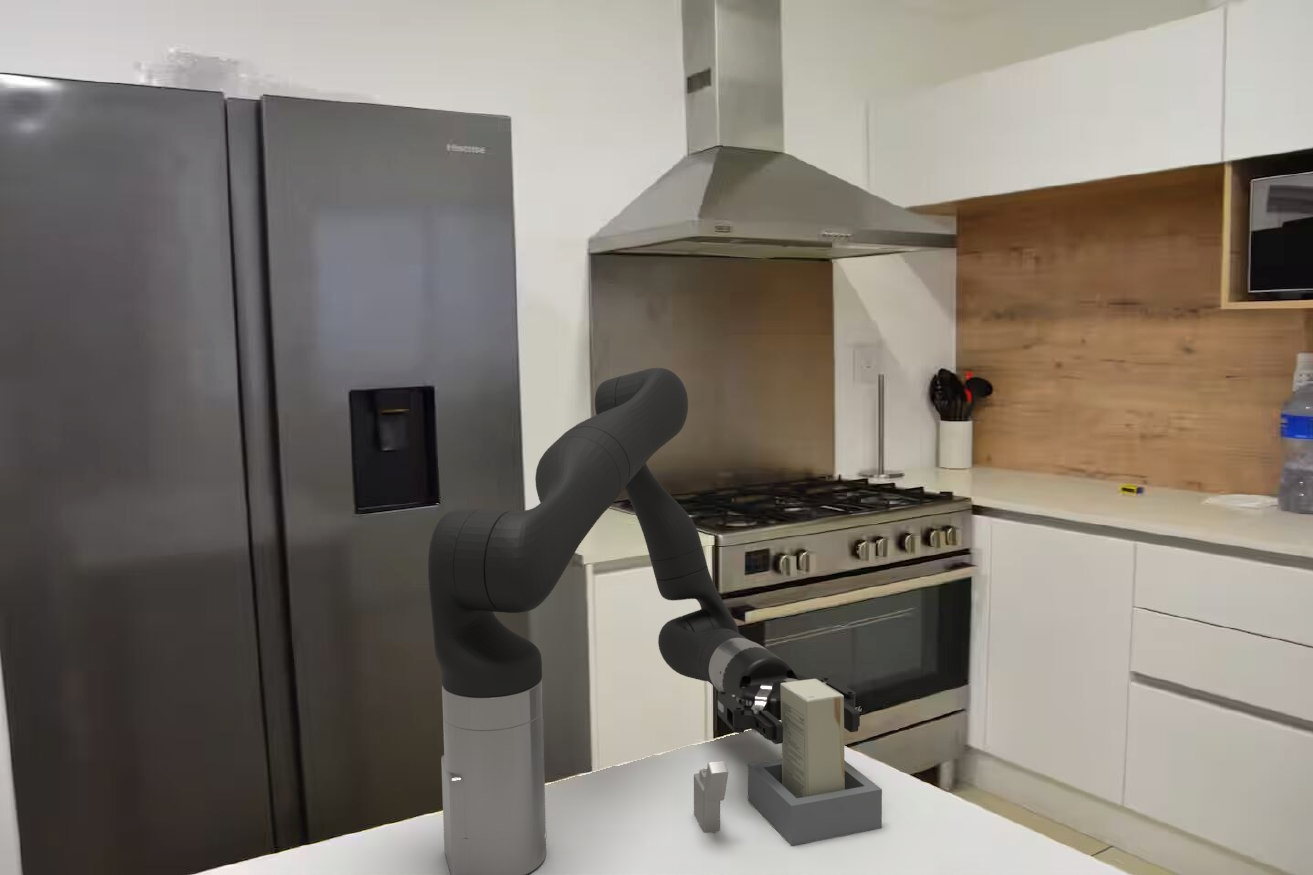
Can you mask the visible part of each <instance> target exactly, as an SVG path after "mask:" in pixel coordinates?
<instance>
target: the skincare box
mask: <svg viewBox="0 0 1313 875" xmlns="http://www.w3.org/2000/svg"><path fill="white" fill-rule="evenodd" d="M780 688H781V719H780V721H781V722H782V725H783V743H781V744H780V745H781V759H782V785H783V786H784V787H785V788H786V789H787V790H788V791H789V792H790V793H791V794H793V795H794V796H795V797H796V798H803V797H808V796H814V795H819V794H825V793H830V792H835V791H841V790H845V761H846V760H845V728H844V696H843V695H842V694H841V693H839V692H838V691H836V690H834V689H833V688H831V687H829V686H828V685H826V684H824V683H822V682H821V681H820V680H819V679H817V678H811V679H810V678H809V679H801V680H800V681H793V682H786V683H781V685H780Z"/></svg>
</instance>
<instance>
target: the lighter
mask: <svg viewBox="0 0 1313 875" xmlns="http://www.w3.org/2000/svg"><path fill="white" fill-rule="evenodd" d="M728 778H729V769H728V767H727V764H726V761H725V760H720V761H712V762H710V761H709V762H708V763H707V768H702V769H699V770H698V773H694V774H693V816H694V817H695V820H696V821H697V823H698V825H699V827H700V829H701V830H702V832H703V834H706V833H707V834H708V833H717V832H720V831H721V802H722V801H725V797H726V796H725V795H726V790H727V784H728Z"/></svg>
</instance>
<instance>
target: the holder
mask: <svg viewBox="0 0 1313 875" xmlns="http://www.w3.org/2000/svg"><path fill="white" fill-rule="evenodd" d="M747 802H748V803H749V804H750V805H751V806H752V807H753V808H754V809H755V810H756V811H757V813H759V814H760V815H761V816H762V817H763V818H764V820H766V821H767V822H768V823H769V825H771V826H772V827H773V829H775V830H776V832H777V833H779V835H781V837H782V838H783V839H784V840H785V841H786V842H787V843H788V844H789V845H790V846H791V847H792V846H797V845H802V844H807V843H808V844H809V843H812V842H813V843H814V842H818V841H823V840H827V839H833V838H837V837H842V836H848V835H854V834H857V833H858V834H859V833H863V832H867V831H871V830H872V831H873V830H877V829H882V827H883V826H882V825H883V822H882V821H883V820H882V818H883V816H882V815H883V812H882V811H883V789H882V788H881V787H880V786H878V784H876V783H874V782H873V781H872V780H871V779H869V777H867V776H865V775H864V774H863V773H861V772H860V771H859V770H858V769H857V768H855V767H854V766H853V765H851V764H850V763H848V762H847V760H845V790H841V791H835V792H830V793H825V794H819V795H814V796H808V797H803V798H796V797H795V796H794V795H793V794H791V793H790V792H789V791H788V790H787V789H786V788H785V787H784V786H783V785H782V758H779V759H778V758H777V759H774V760H767V761H760V762H754V763H749V764H747Z"/></svg>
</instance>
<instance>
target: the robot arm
mask: <svg viewBox="0 0 1313 875" xmlns="http://www.w3.org/2000/svg"><path fill="white" fill-rule="evenodd" d="M687 393H688V392H687V389H686V387H685V384H684V383H683V381H682V379H681V378H680V377H679V376H678V375H677V374H676V373H675V372H673V371H671V369H670V370H669V369H667V368H663V367H653V368H646V369H644V370H639V371H636V372H632V373H627V374H625V375H624V374H623V375H620V376H617V377H614V378H610V379H607V380H604V381H603V382H601V383H600V385H598V387H597V389H596V390H595V395H594V396H595V397H594V410H595V415H594V416H592V417H589V418H587V419H585V420H583V421H580V422H579V423H577V424H576V425H574V426H573V427H571V428H570V429H568V430H567V431H565V432H564V433H563V434H562V435H561V436H560V437H559V438H557V439H556V440H555V441H554V442H553V443H552V444H551V445H550V446H549V447H548V448H547V449H546V450H545V451H544V453H543V454H542V456H541V457H540V459H539V461H538V463H537V466H536V470H535V477H534V478H535V490H536V494H537V497H538V500H539V503H538V505H535V506H534V507H532V508H530V509H526V510H498V509H480V508H478V509H477V508H476V509H475V508H473V509H472V508H459V509H453V510H450V511H448V512H446V513H445V514H444V515H443V516H442V517H441V518H440V519H439V521H438V522H437V524H436V526H435V527H434V529H433V532H432V536H431V538H430V543H429V549H428V557H427V558H428V559H427V574H428V575H427V578H428V590H429V603H430V612H431V613H430V614H431V620H432V621H431V624H432V633H433V634H432V636H433V648H434V649H433V650H434V654H435V657H436V661H437V664H438V666H439V669H440V673H441V674H440V676H441V696H442V697H441V698H442V699H441V700H442V721H443V722H442V726H443V727H442V728H443V731H442V732H443V753H444V754H443V755H441V760H440V761H441V786H442V787H441V788H442V789H441V791H442V819H443V845H444V846H443V847H444V848H443V850H444V854H445V857H446V861H447V865H448V869H449V874H450V875H527V874H529V873H532V872H533V871H534V870H537V868H538V867H540V865H542V864H543V862H544V860H545V859H546V856H547V827H546V826H547V824H546V823H547V821H546V820H547V819H546V817H547V816H546V788H545V787H546V786H545V785H546V784H545V780H546V779H545V778H546V777H545V752H544V751H545V750H544V749H545V748H544V747H545V745H544V743H545V742H544V712H543V711H544V709H543V708H544V707H543V661H542V654H541V652H540V650H539V648H538V647H537V646H536V644H534V643H533V642H532V641H530V640H528V639H527V638H524V637H522V636H520V635H519V634H517V633H516V632H513V631H512V630H511V629H509V628H508V627H507V626H506V625H504V624H503V622H502V621H500V619H499V618H498V617H497V616H496V615H495V612H496V613H507V614H518V613H519V614H520V613H525V612H529V611H532V610H534V609H536V608H538V607H539V606H540V605H541V604H542V603H544V602H545V600H546V599H547V598H549V595H550V594H551V593H552V591H553V590H554V589H555V587H556V585H557V584H558V582H559V580H560V579H561V577H562V575H563V574H564V572H565V571H566V568H567V567H568V565H569V563H570V561H571V560H572V559H573V556H574V555H575V554H576V551H577V550H578V548H579V546H580V545H581V543H582V542H583V541H584V539H585V538H586V536H587V535H588V534H589V532H590V531H591V529H592V528H593V527H594V526H595V524H596V523H597V522H598V521H599V519H600V518H601V517H602V515H603V514H604V513H605V512H606V511H607V510H608V509H609V508H610V507H611V506H612V505H613V504H614V502H615V501H616V500H617V499H618V498H619V496H620V495H621V494H622V493H623V492H625V493H626V495H627V497H628V499H629V502H630V504H631V506H632V509H633V510H634V513H635V516H636V518H637V520H638V524H639V525H640V528H641V531H642V534H643V538H644V540H645V545H646V546H647V553H648V554H649V559H650V563H651V566H652V570H653V574H654V578H655V581H656V582H655V583H656V585H657V589H658V592H659V593H660V596H661V597H662V598H663V599H665V600H667V601H684V600H696V601H697V602H698V604H699V606H700V609H698V610H694V611H692V612H689V613H687V614H684V615H682V616H678V617H675V618H672V619H671V620H668V621H667V622H666V623H664V625H663V626H662V627H661V629H660V631H659V634H658V638H657V640H658V642H657V643H658V649H659V653H660V654H661V657H662V659H663V660H664V662H665V663H666V664H667V666H669V667H670V669H671V670H673V671H675V672H676V673H678V674H679V675H682V676H684V677H685V678H691V679H693V680H694V679H695V680H699V681H702V682H703V681H704V682H708V683H709V684H711V685H712V686H713V687H714V688H716V690H717V715H718V717H719V718H720V719H721V720H722V721H723V723H725V724H726V725H727V727H728V728H729V729H730V730H731V731H732V732H733V733H735V734H743V733H745V729H750V731H751V732H752V733H753V734H759V735H761V736H762V737H763V738H764V739H765V740H768V741H770V742H772V743H773V745H781V743H783V725H782V722H781V688H780V685H781V683H786V682H793V681H801V680H799V679H798V677H797V675H796V673H795V671H794V669H793V668H792V667H791V665H790V664H788V662H786V661H785V660H783V659H782V658H780V657H779V656H777V655H776V654H775V653H773V652H772V651H771V650H768V649H767V648H766V647H764V646H762V645H761V644H759V643H757V642H754V641H752V640H749V639H748V638H747V637H745V636H744V635H742V634H740V631H739V627H738V624H737V623H736V621H735V619H734V617H733V615H732V613H731V612H730V610H729V609H728V607H727V605H726V604H725V603H724V600H723V598H722V597H721V595H720V593H719V592H718V589H717V587H716V585H715V582H714V580H713V579H712V577H711V574H710V570H709V568H708V563H707V560H706V555H705V552H704V548H703V544H702V540H701V537H700V534H699V531H698V529H697V527H696V525H695V522H694V521H693V519H692V518H691V517H690V514H688V512H687V511H686V510H685V509H684V508H683V507H682V506H681V505H680V504H679V502H678V501H677V500H676V499H675V498H674V497H673V496H672V495H671V494H670V493H669V492H668V490H666V489H665V488H664V487H663V486H662V485H661V483H660V481H659V480H657V479H656V477H655V476H654V475H653V473H652V472H651V470H650V468H649V467H648V465H647V462H648V461H649V459H651V457H653V455H655V453H656V452H658V451H659V450H660V449H661V448H663V446H664V445H666V444H668V442H670V441H671V440H672V439H673V438H674V437H676V436H677V435H678V434H679V433H680V432H681V431H682V429H683V428H684V426H685V423H686V421H687V417H688V412H689V411H688V410H689V398H688V397H689V396H688V394H687ZM624 490H625V491H624ZM819 681H821V682H822V683H824V684H826V685H828V686H829V687H831V688H833V689H834V690H836V691H838V692H839V693H841V694H842V695H843V696H844V730H845V729H846V731H848V732H849V733H856V732H859V727H860V725H861V722H860V720H861V713H860V711H859V710H858V709H856V694H857V693H856V691H854V690H852V689H850V688H849V687H847V686H846V685H843V684H842V683H840V682H839V681H836V680H835V679H833V678H831V677H828V676H822V677H820V680H819Z"/></svg>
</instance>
